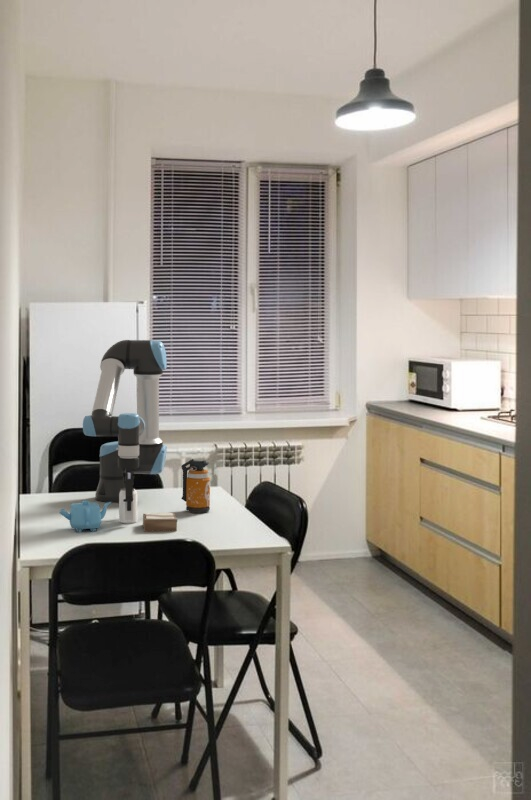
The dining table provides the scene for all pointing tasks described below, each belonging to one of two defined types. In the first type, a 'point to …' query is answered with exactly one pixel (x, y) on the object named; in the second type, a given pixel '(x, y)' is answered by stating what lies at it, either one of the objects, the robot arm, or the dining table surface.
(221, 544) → the dining table surface
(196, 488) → the canister
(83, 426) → the robot arm
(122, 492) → the can
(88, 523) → the teapot
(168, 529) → the podium
